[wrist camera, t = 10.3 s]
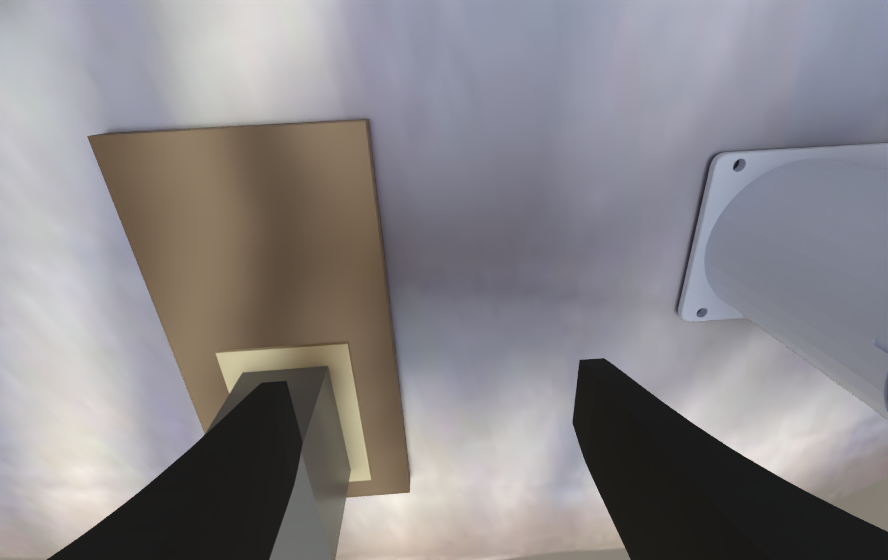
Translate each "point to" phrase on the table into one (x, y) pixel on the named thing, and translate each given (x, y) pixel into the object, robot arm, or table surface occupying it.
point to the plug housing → (307, 462)
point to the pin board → (269, 267)
